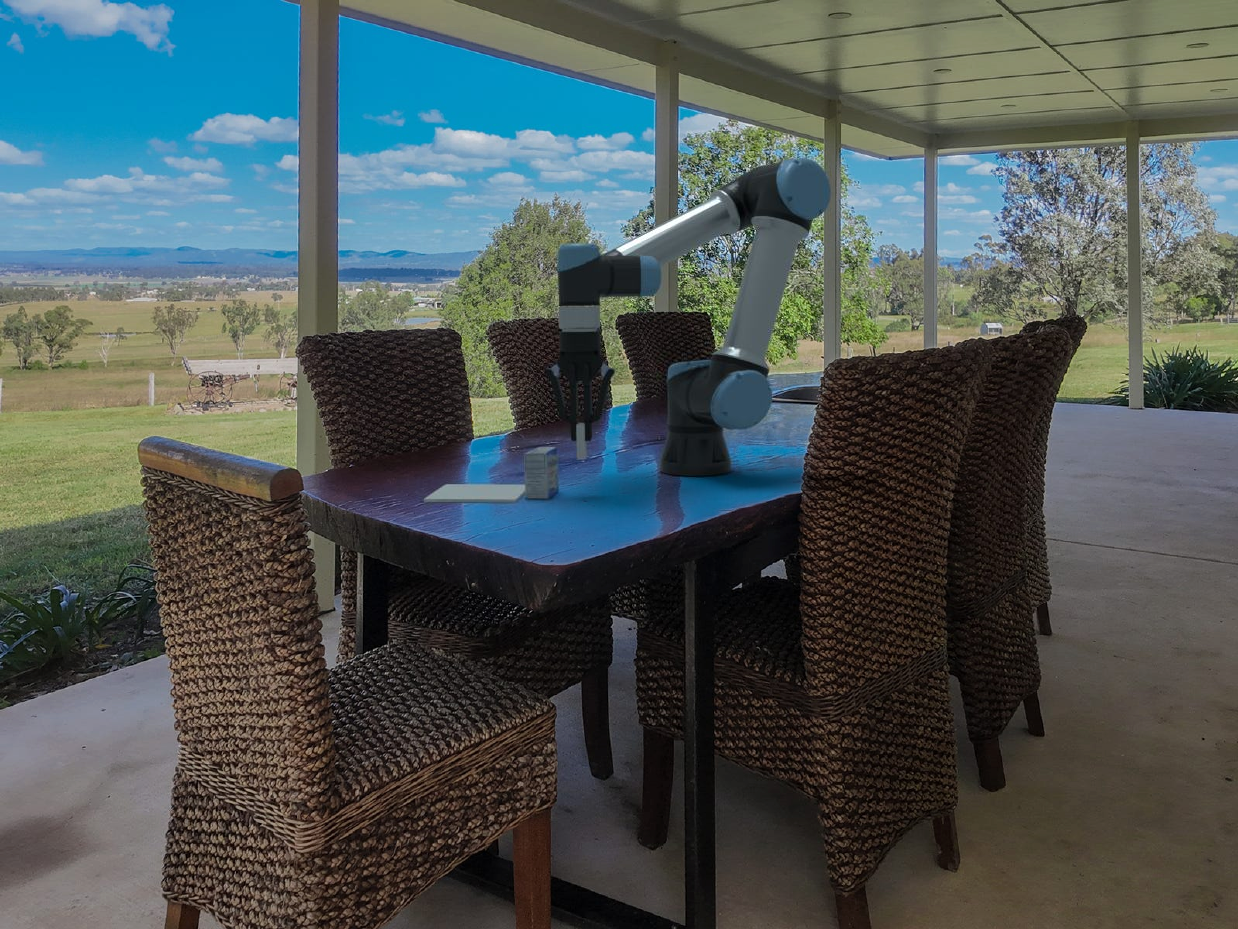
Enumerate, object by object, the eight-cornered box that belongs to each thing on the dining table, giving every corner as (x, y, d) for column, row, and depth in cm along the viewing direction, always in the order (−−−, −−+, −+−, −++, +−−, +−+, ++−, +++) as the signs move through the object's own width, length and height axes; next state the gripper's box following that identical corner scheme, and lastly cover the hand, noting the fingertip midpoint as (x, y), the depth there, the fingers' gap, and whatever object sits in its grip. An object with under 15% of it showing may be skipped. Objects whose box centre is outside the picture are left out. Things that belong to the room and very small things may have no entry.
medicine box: (548, 499, 186) (546, 452, 185) (524, 499, 187) (523, 452, 186) (559, 491, 194) (558, 446, 192) (536, 491, 195) (535, 446, 193)
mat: (531, 487, 198) (531, 484, 198) (515, 502, 183) (515, 499, 183) (445, 487, 200) (445, 484, 200) (424, 502, 185) (423, 499, 185)
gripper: (617, 329, 188) (618, 455, 192) (547, 330, 189) (550, 455, 193) (613, 330, 180) (614, 461, 184) (540, 331, 182) (543, 461, 185)
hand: (581, 458), depth 188 cm, fingers closed
